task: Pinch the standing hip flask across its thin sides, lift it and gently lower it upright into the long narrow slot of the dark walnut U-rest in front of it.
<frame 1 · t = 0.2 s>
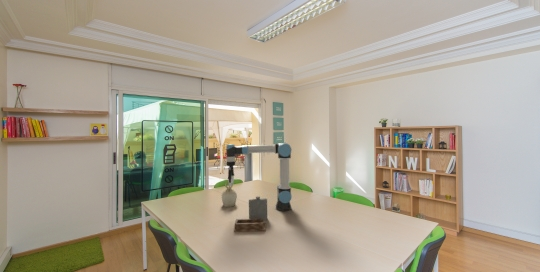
hand: (231, 184, 213), 28 cm above the table, tool pointing down, fingers open, 13 cm apart
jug: (229, 205, 242), on the table
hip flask: (258, 220, 199), on the table
u rest: (250, 228, 182), on the table
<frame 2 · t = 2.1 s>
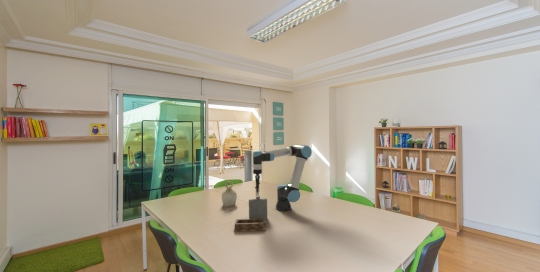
hand: (257, 193, 199), 22 cm above the table, tool pointing down, fingers open, 13 cm apart
nothing on the table moved.
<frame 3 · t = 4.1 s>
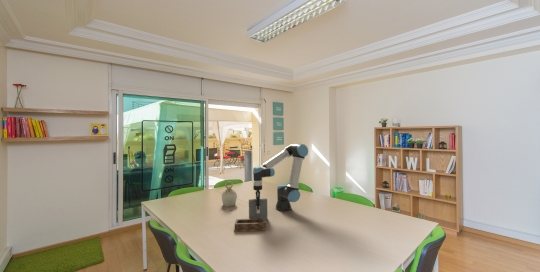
hand: (258, 212, 199), 7 cm above the table, tool pointing down, fingers closed on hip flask, 4 cm apart
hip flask: (258, 220, 199), on the table, touching gripper
everything else where it was.
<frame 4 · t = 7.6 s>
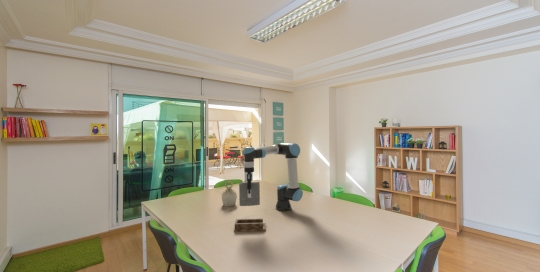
hand: (249, 196, 182), 25 cm above the table, tool pointing down, fingers closed on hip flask, 4 cm apart
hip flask: (249, 205, 182), point 18 cm above the table, touching gripper
everything else where it was.
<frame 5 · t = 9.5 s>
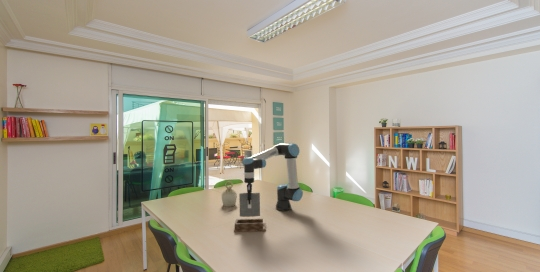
hand: (249, 207, 182), 17 cm above the table, tool pointing down, fingers closed on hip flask, 4 cm apart
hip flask: (249, 216, 182), point 10 cm above the table, touching gripper
everything else where it was.
when the fingers open (10 cm above the table, at t = 11.0 s): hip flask drops 1 cm, resting on u rest.
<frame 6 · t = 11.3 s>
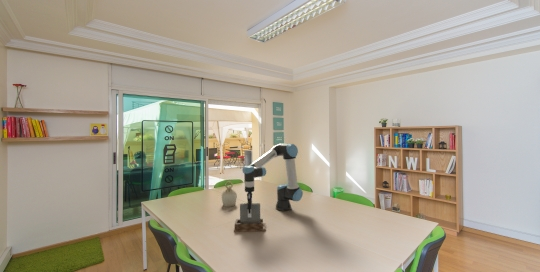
hand: (250, 215, 182), 10 cm above the table, tool pointing down, fingers open, 8 cm apart
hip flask: (250, 226, 182), point 1 cm above the table, touching u rest
everything else where it was.
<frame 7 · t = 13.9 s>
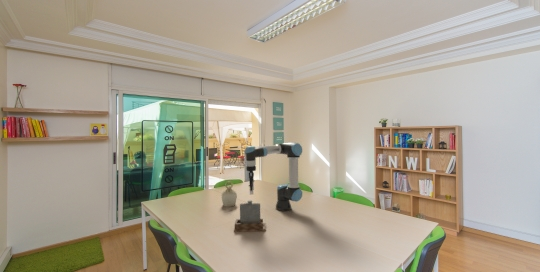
hand: (251, 192, 186), 27 cm above the table, tool pointing down, fingers open, 13 cm apart
nothing on the table moved.
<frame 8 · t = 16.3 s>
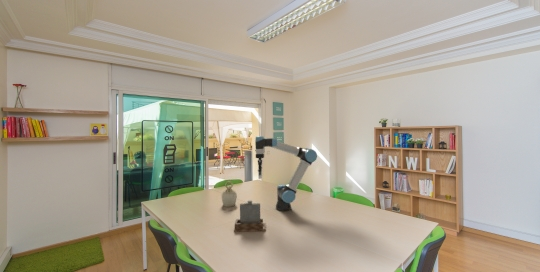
hand: (260, 177, 209), 35 cm above the table, tool pointing down, fingers open, 13 cm apart
nothing on the table moved.
at the end: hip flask 0.1 cm off-centre on the u rest, point 1.3 cm above the u rest's base; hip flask tilted 0°; the gripper is holding nothing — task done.
